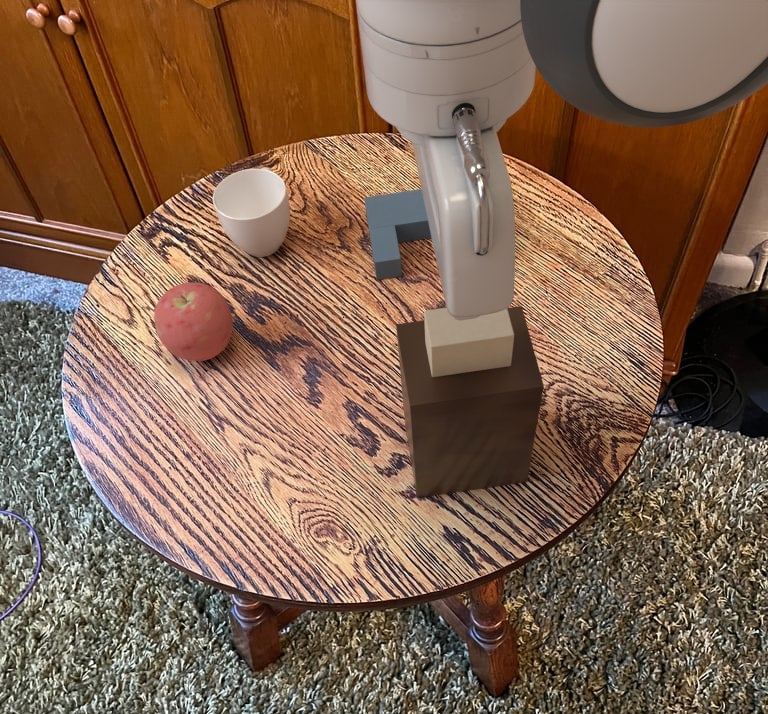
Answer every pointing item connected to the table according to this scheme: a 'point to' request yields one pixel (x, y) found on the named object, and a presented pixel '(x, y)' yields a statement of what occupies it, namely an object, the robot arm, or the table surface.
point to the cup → (253, 210)
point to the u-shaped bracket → (394, 228)
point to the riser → (469, 415)
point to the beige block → (467, 342)
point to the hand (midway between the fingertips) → (454, 258)
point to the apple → (193, 321)
